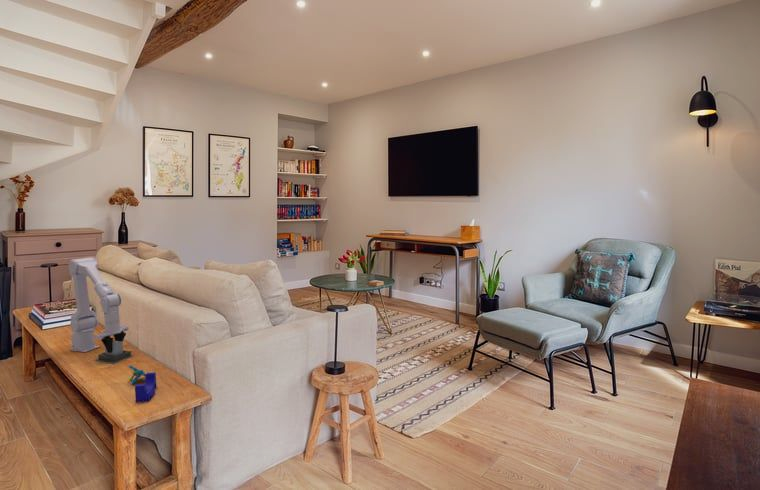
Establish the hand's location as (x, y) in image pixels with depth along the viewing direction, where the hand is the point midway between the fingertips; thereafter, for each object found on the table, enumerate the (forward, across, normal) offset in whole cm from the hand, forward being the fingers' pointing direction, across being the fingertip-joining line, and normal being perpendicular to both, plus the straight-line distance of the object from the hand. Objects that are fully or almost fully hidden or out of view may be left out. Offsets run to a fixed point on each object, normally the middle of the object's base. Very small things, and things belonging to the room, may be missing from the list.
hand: (114, 350), depth 199 cm
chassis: (+4, 0, 0) cm, 4 cm away
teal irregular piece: (+4, -16, -31) cm, 35 cm away
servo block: (+2, 0, 0) cm, 2 cm away
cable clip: (+4, -23, -43) cm, 49 cm away
